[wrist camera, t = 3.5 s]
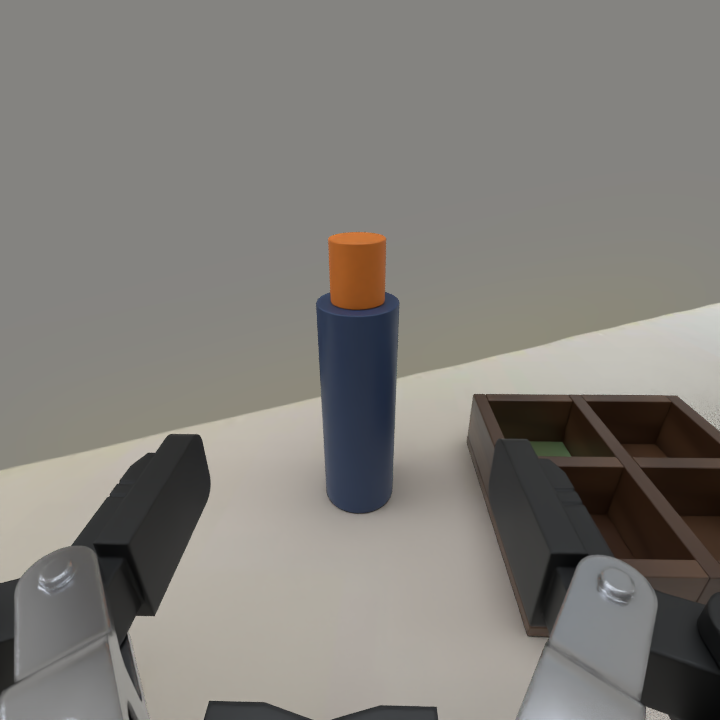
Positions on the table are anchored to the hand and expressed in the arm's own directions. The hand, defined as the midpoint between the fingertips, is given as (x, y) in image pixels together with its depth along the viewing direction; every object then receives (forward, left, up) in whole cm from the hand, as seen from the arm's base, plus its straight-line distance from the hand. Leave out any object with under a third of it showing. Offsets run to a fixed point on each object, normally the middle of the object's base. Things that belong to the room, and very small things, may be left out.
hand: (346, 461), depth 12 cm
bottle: (0, -10, -11) cm, 15 cm away
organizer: (-14, -8, -11) cm, 20 cm away
